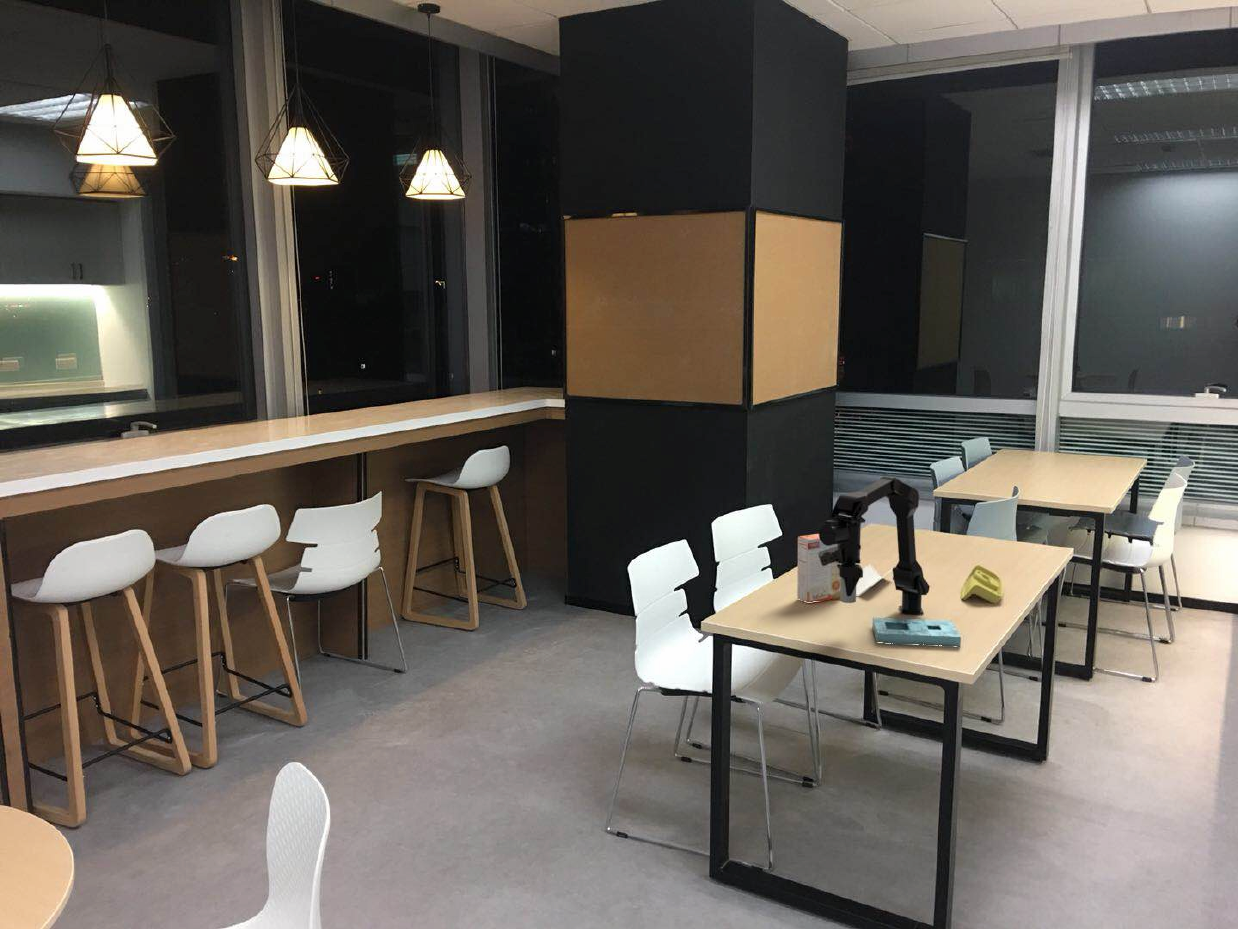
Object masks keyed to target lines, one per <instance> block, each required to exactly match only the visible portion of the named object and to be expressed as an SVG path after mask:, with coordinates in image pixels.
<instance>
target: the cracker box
mask: <svg viewBox="0 0 1238 929" xmlns="http://www.w3.org/2000/svg"><path fill="white" fill-rule="evenodd" d="M837 546H838V544H834V545H830V546H826V545H824V544H823V543H822V542H821V540H820V538H819V533H814V534H807V535H800V536H798V537H797V592H796V593H797V598H798V599H800V600H802V601H806V602H813V601H822V602H825V600H827V601H832V600H831V599H833V600H837V599H838V598H839V599H840V580H841V577H840V576H839V568H838V567H837V564H840V563H838V562H833V563H830V564H827V565H826V566H822V564H821V561H820V558H819V555H818V553H819V552H820V551H823V550H826V549H830V548H834V547H837ZM798 599H797V600H798ZM800 600H799V601H800ZM802 601H801V602H802Z"/></svg>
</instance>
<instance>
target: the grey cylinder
mask: <svg viewBox="0 0 1238 929" xmlns="http://www.w3.org/2000/svg"><path fill="white" fill-rule="evenodd" d="M839 601H840V602H842V603H846V604H854V603H856V602H857V596H856V587H855V589H854V591H853V593H852V595H851V596H847V594H846V588H845V582H844V579H843V578H842V577H841V580H840V598H839Z"/></svg>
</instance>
